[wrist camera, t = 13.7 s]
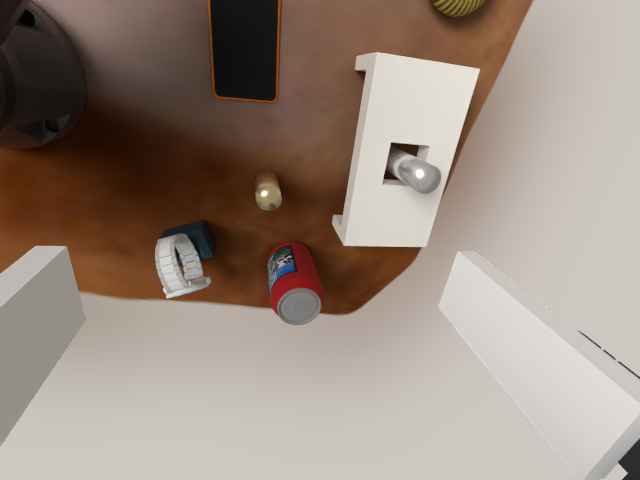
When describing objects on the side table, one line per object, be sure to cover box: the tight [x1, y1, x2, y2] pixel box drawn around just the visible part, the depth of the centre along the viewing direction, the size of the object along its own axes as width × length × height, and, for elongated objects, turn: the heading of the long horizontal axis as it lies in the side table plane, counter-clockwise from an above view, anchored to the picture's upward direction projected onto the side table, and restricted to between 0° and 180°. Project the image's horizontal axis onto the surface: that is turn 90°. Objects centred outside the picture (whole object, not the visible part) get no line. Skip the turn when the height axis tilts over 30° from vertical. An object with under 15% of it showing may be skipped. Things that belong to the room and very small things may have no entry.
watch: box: [155, 220, 216, 298], centre depth 39 cm, size 6×8×11 cm
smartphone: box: [208, 0, 281, 103], centre depth 34 cm, size 8×17×1 cm, turn 175°
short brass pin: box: [255, 170, 282, 211], centre depth 39 cm, size 3×3×7 cm
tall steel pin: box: [386, 145, 441, 194], centre depth 38 cm, size 3×3×13 cm
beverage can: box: [268, 242, 324, 325], centre depth 43 cm, size 7×7×12 cm
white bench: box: [332, 52, 480, 247], centre depth 41 cm, size 12×22×7 cm, turn 173°
